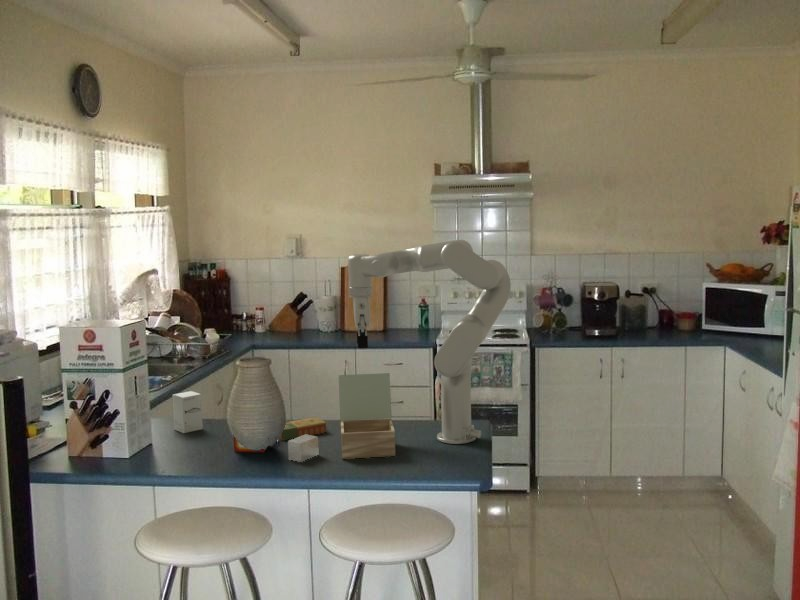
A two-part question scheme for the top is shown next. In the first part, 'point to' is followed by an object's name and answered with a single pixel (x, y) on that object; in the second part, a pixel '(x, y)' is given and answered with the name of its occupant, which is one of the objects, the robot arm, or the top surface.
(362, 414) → the lid
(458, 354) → the robot arm
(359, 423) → the box
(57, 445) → the top surface
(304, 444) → the white rectangular block
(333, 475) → the top surface
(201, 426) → the supplement box
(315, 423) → the carton
